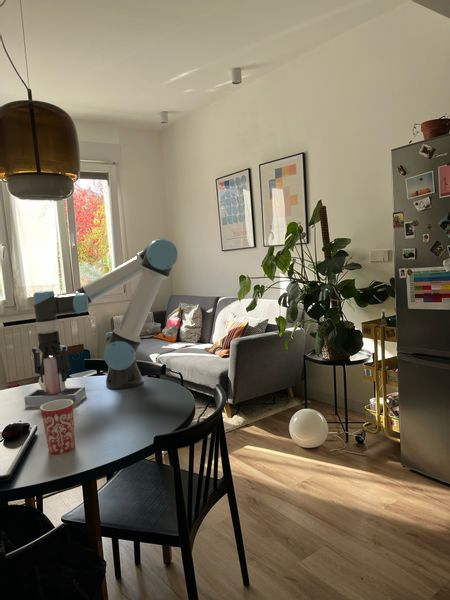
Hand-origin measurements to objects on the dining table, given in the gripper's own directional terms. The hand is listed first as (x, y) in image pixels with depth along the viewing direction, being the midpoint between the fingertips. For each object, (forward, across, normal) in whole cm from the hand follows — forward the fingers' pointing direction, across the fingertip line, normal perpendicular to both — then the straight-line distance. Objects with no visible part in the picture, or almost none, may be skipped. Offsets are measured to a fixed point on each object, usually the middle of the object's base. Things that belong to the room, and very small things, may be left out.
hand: (55, 390), depth 175 cm
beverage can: (+2, 0, 0) cm, 2 cm away
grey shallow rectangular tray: (+5, 0, 0) cm, 5 cm away
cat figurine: (+5, +10, -16) cm, 20 cm away
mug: (+5, -21, +41) cm, 46 cm away
